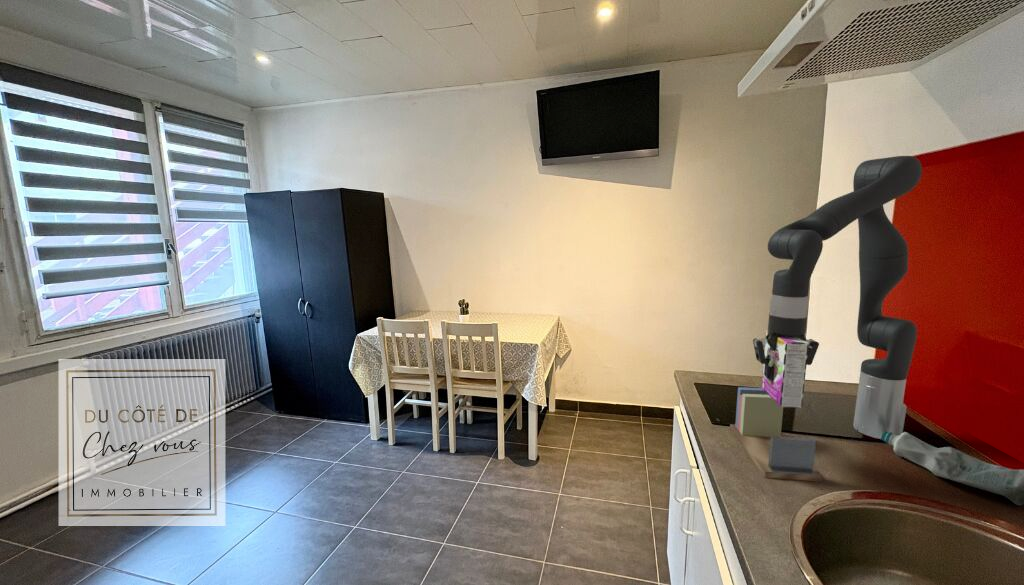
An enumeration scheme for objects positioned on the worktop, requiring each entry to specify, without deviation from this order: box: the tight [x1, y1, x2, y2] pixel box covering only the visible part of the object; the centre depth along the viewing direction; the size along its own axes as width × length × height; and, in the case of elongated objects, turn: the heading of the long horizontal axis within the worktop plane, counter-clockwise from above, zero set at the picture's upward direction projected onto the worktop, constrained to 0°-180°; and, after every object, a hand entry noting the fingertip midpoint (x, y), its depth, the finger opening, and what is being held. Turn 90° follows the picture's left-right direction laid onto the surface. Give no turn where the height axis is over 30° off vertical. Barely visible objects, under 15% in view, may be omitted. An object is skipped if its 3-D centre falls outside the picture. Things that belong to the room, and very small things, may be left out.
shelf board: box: [729, 423, 823, 482], centre depth 101 cm, size 12×22×2 cm, turn 170°
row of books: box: [734, 386, 784, 437], centre depth 108 cm, size 10×5×12 cm, turn 80°
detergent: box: [880, 431, 1024, 506], centre depth 90 cm, size 13×7×25 cm
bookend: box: [768, 436, 817, 475], centre depth 91 cm, size 9×2×8 cm, turn 80°
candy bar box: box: [761, 328, 809, 409], centre depth 95 cm, size 11×5×16 cm, turn 168°
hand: (781, 379), depth 96 cm, fingers closed on candy bar box, 5 cm apart
